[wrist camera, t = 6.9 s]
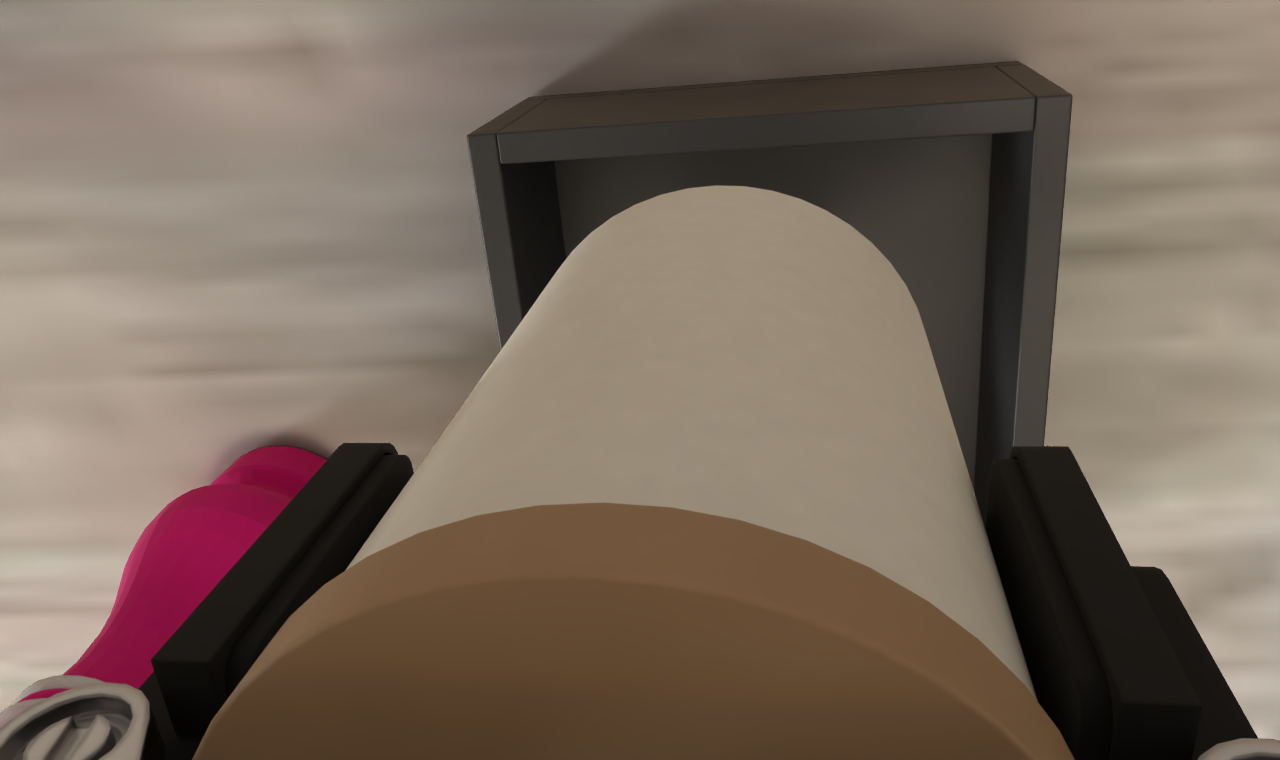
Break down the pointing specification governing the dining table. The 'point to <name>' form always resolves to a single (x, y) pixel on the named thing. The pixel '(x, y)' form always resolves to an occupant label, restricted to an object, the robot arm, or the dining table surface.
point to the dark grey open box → (825, 202)
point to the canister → (674, 531)
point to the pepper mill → (181, 567)
